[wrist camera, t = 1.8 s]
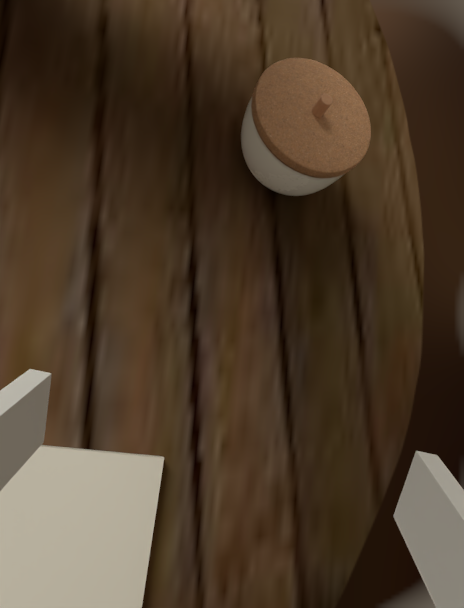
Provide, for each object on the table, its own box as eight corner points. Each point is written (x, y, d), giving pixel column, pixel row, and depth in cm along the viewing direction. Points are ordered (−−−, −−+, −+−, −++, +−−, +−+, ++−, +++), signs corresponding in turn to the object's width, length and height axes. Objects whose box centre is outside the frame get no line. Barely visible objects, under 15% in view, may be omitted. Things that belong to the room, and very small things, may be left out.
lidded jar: (319, 228, 41) (380, 179, 32) (216, 193, 38) (253, 131, 30) (329, 138, 44) (388, 72, 36) (235, 100, 41) (274, 19, 33)
